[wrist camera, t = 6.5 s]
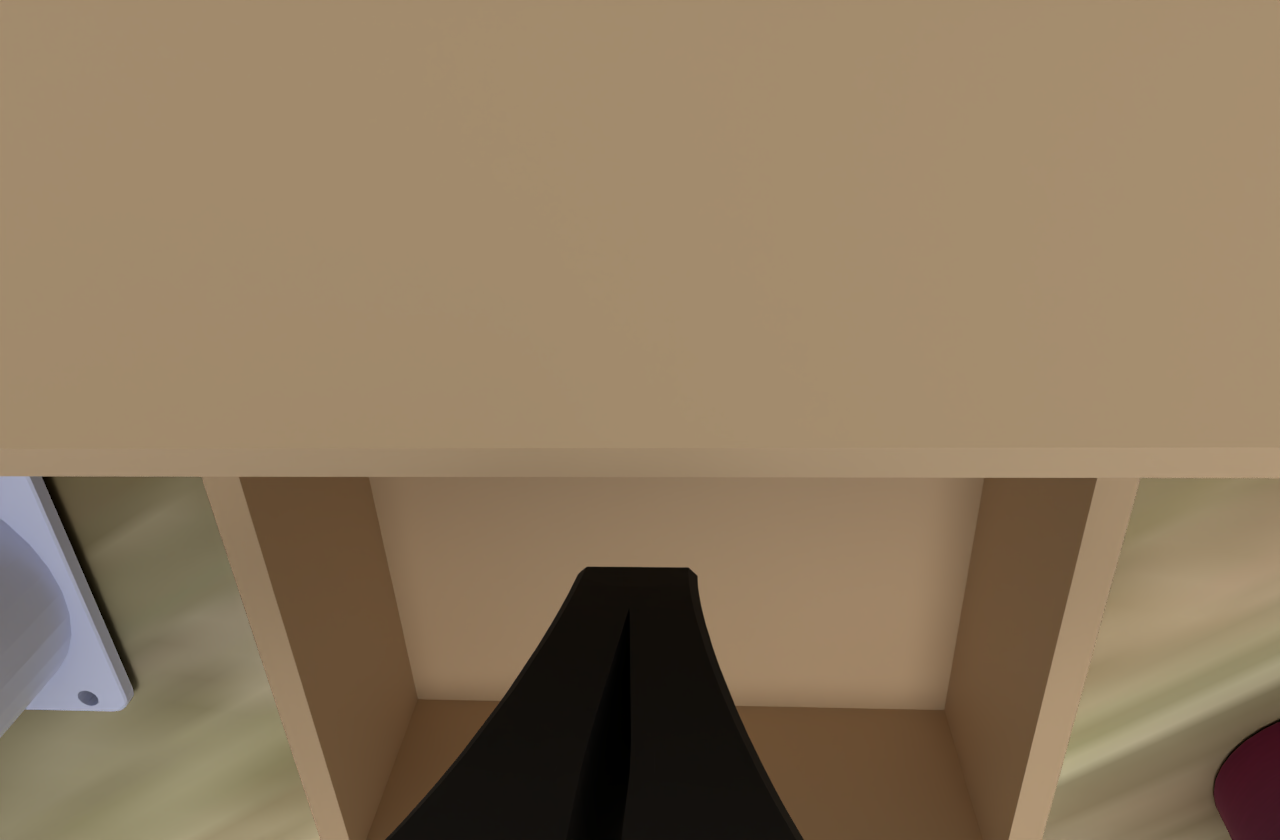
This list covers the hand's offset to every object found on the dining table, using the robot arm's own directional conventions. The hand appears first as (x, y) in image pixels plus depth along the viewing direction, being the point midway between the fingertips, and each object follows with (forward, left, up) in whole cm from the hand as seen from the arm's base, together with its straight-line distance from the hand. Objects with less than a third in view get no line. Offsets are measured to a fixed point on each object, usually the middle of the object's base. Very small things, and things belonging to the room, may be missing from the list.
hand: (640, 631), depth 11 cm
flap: (0, +6, 0) cm, 6 cm away
